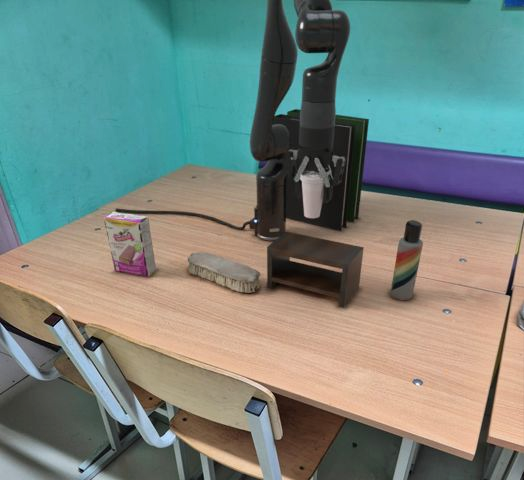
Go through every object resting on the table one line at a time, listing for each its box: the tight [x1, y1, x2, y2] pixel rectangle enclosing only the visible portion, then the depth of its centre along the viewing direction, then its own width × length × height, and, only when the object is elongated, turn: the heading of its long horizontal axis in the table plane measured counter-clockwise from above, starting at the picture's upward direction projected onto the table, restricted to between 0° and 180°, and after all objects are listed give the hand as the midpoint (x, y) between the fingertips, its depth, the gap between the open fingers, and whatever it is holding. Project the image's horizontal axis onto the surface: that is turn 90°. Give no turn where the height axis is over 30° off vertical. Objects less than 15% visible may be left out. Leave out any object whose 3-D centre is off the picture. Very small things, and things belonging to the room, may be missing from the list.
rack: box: [266, 230, 365, 309], centre depth 129 cm, size 22×11×12 cm, turn 61°
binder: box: [272, 108, 370, 232], centre depth 163 cm, size 27×15×32 cm, turn 54°
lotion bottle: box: [390, 219, 424, 301], centre depth 123 cm, size 6×6×20 cm
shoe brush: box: [187, 251, 261, 294], centre depth 135 cm, size 24×8×5 cm, turn 54°
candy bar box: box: [103, 211, 157, 278], centre depth 137 cm, size 11×5×16 cm, turn 71°
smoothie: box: [300, 171, 325, 218], centre depth 114 cm, size 6×6×14 cm
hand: (312, 199), depth 116 cm, fingers closed on smoothie, 6 cm apart
